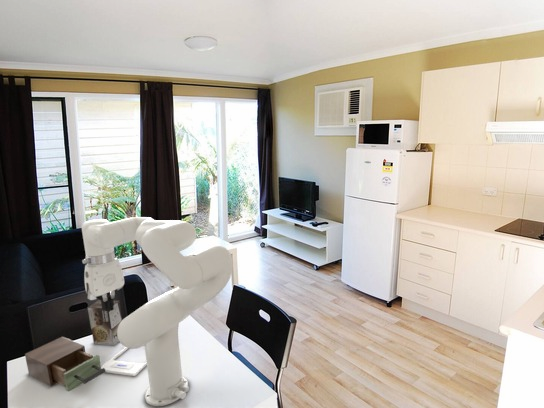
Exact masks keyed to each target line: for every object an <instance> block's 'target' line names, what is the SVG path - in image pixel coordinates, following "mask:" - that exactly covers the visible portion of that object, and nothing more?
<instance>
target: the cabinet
mask: <svg viewBox="0 0 544 408" xmlns="http://www.w3.org/2000/svg"><path fill="white" fill-rule="evenodd" d="M79 350H81V351H83V352H85V353H87V352H86V346H85V345H84V344H81V343H79V342H77V341H74V340H72V339H70V338H67V337H65V336H61V337H58V338H56V339H54V340H52V341H50V342H48V343H45V344H43V345H41V346H38V347H37V348H35V349H32V350H30V351H28V352H26V353H24V356H25V362H26V367H27V371H28V375H29V376H31V377H33V378H34V379H36V380H39V381H40V382H41V383H44V384H45V385H47V386H49V387H53V386H54V385H56V384H59V383H58V382H56V381H54V380H53V379H52V374H51V369H50V365H52V364H54V363H56V362H58V361H60V360H62V359H64V358H66V357H68V356H70V355H72V354H74V353H76V352H78V351H79Z"/></svg>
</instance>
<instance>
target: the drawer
mask: <svg viewBox="0 0 544 408" xmlns="http://www.w3.org/2000/svg"><path fill="white" fill-rule="evenodd" d="M85 352H86V351H85ZM85 352H83V351H81V350H79V351H78V352H76V353H74V354H72V355H70V356H68V357H66V358H64V359H62V360H60V361H58V362H56V363H54V364H52V365H50V369H51V374H52V379H53V380H54V381H56V382H58V383H57V384H60V385H62V386H63V387H65V390H66V391H67V392H70V391H72V390H74V389H75V388H77V387H79V386H80V385H82V384H83V385H86V384H87V383H89V382H91V381H92V380H94V379H96V378H97V377H99V376H100V375H102V374H105V373H106V372H105V369H104V368H102V369H101V366H102V365H101V360H100V355H98V354H96V355H95V356H93V355H92V354H90V353H87V352H86V353H85Z"/></svg>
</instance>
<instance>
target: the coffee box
mask: <svg viewBox="0 0 544 408" xmlns="http://www.w3.org/2000/svg"><path fill="white" fill-rule="evenodd" d="M113 302H114V306H113V307H114V310H111V311H110V312H107V311H104V310H103V309H102V305H101V300H99V299H98V300H97V301H96V302H94V303H93V304H91V305H89V306H88V307H87V312H88V318H89V325H90V329H91V336H92V341H93V344H94V345H104V346H105V345H106V346H115V345H117V344H118V343H120V341H119V339H118V336H117V330H118V326H119V324H120V322H121V321H122V320H123V316H122V309H121V302H120V300H113Z"/></svg>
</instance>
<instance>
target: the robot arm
mask: <svg viewBox="0 0 544 408" xmlns="http://www.w3.org/2000/svg"><path fill="white" fill-rule="evenodd" d="M81 233H82V239H83V246H84V251H85V258H84V259H82V260H81V262H82V264H83V265H84V273H83V274H84V275H83V276H84V277H83V278H84V279H83V280H84V288H85V289H84V290H85V293H86V295H87V300H89V301H95V300H98V301H99V300H101V305H102V309H103V310H104V311H107V312H110V311H111V310H114V307H113V306H114V302H113V301H114V299H115V295H116V293H117V292H118V291H120V289H122V288H123V287H124V285H125V277H124V272H123V269H122V268H123V267H122V266H121V265H122V264H121V263H120V260H119V258H118V257H116V255H115V247H119V246H122V245H124V244H128V243H131V242H134V241H136V243H137V244H138V246H139V247H141V250H142V252H143V253H144V255H145V256H146V257H147V259H148V260H149V261H150V262H151V263H152V264H153V265H154V266H155V267H156V268H157V269H158V270H159V271H160V272H161V273H162V274H163V275H164V277H165V278H167V279H168V281H170V282H171V283H172V284H173V285H174V286H176V288H174V289H172V290H169V291H167V292H165V293H163V294H161V295H159V296H157V297H155V298H153V299H152V300H150V301H148V302H146V303H144V304H143V305H142V306H139V308H137V309H135V311H133V312H131V313H130V314H129V315H127V316H126V317H124V318H122V321H121V322H120V324H119V326H118V330H117V336H118V339H119V343H120V344H121V345H122V346H123V347H124V348H125V347H127V348H128V349H131V350H133V349H134V350H136V349H139V348H142V347H144V353H145V362H146V361H147V365H146V368H147V369H146V370H147V375H148V384H149V387H148V388H147V390H146V391H145V394H144V398H145V403H147V404H148V405H150V406H153V407H163V406H168V405H170V404H173V403H175V402H177V401H178V400H179V399H181V400H184V399H186V397H187V392H189V390H190V386H189V381H188V379H187V377H184V376H183V372H182V362H181V351H180V341H179V324H180V323H181V322H183V321H184V320H186V318H188V317H189V316H190V315H192V314H193V313H194V312H196V311H197V310H199V309H200V308H202V307H204V305H207V304H208V303H209V302H210V301H212V300H213V299H214V298H216V297H217V296H218V295H219V294H220V293H221V292H222V291H223V290H224V289H225V288H226V286H227V285H228V283H229V281H230V279H231V276H232V274H233V273H232V272H233V267H234V266H233V257H232V254H231V252H230V251H229V250H228V249H227V248H226V247H224V246H221V245H209V246H206V247H203V248H200V249H198V250H195V251H194V252H191V253H189V254H187V255H184V254H183V253H181V252H182V251H184V250H187V249H189V248H190V247H191V246H192V245H193V244H194V243H195V241H196V239H197V230H196V227H195V226H194V225H193V224H191V223H190V222H189V221H185V220H155V219H154V218H152V217H149V216H148V217H147V216H136V217H135V216H133V217H127V218H123V219H119V220H115V221H111V222H110V221H109V220H107V219H104V218H99V219H97V218H96V219H91V220H87V221H84V222H83V223H82V224H81Z"/></svg>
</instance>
